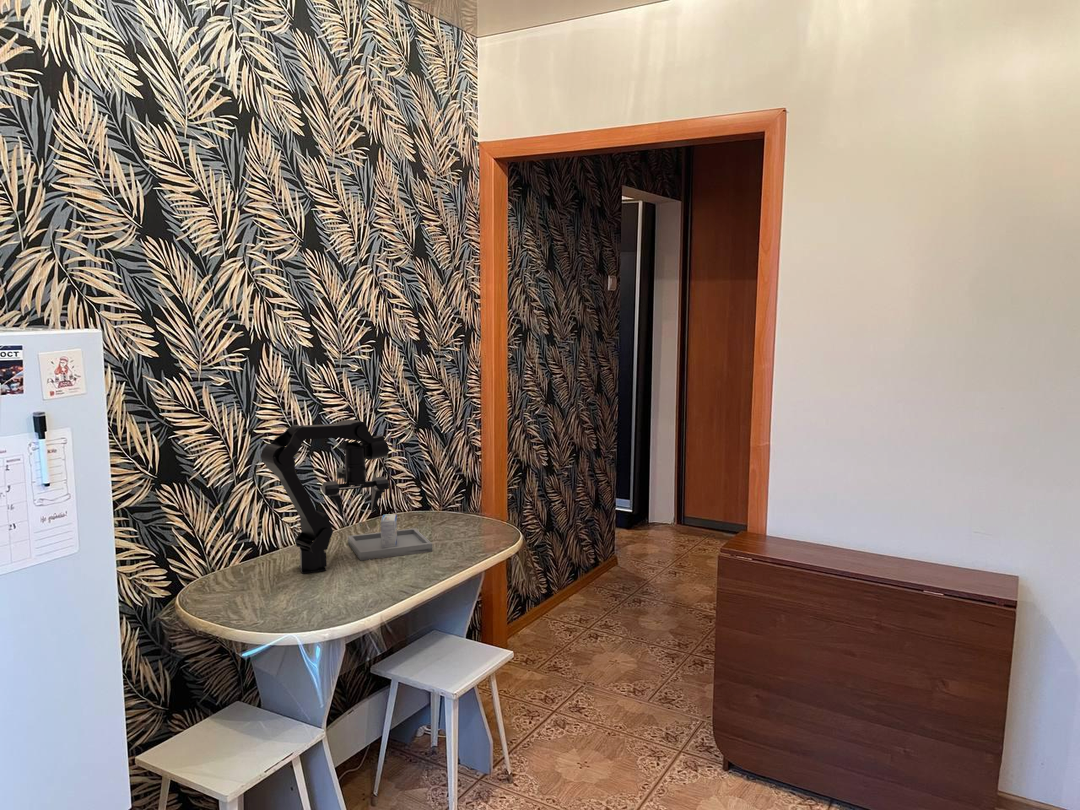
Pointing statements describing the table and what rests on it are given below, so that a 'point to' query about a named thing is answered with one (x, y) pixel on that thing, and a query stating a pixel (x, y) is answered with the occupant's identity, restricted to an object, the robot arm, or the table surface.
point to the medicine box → (389, 531)
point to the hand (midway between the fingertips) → (356, 513)
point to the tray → (406, 544)
